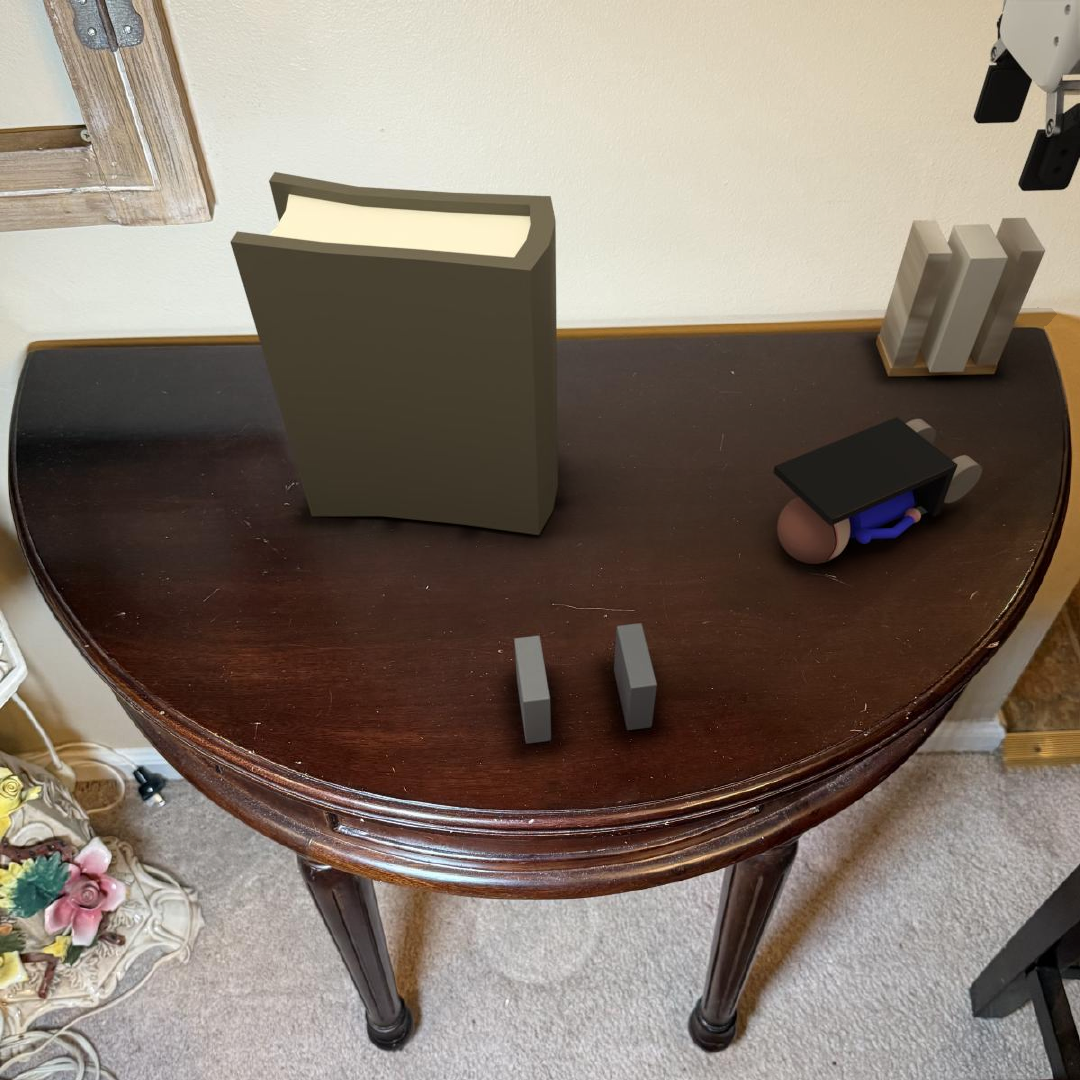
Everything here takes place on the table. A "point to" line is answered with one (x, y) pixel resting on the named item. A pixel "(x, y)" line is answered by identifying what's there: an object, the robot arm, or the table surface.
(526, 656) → the grey rectangular blocks
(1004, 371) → the table surface
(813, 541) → the figurine character
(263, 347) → the book
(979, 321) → the beige rectangular block
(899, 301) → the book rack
